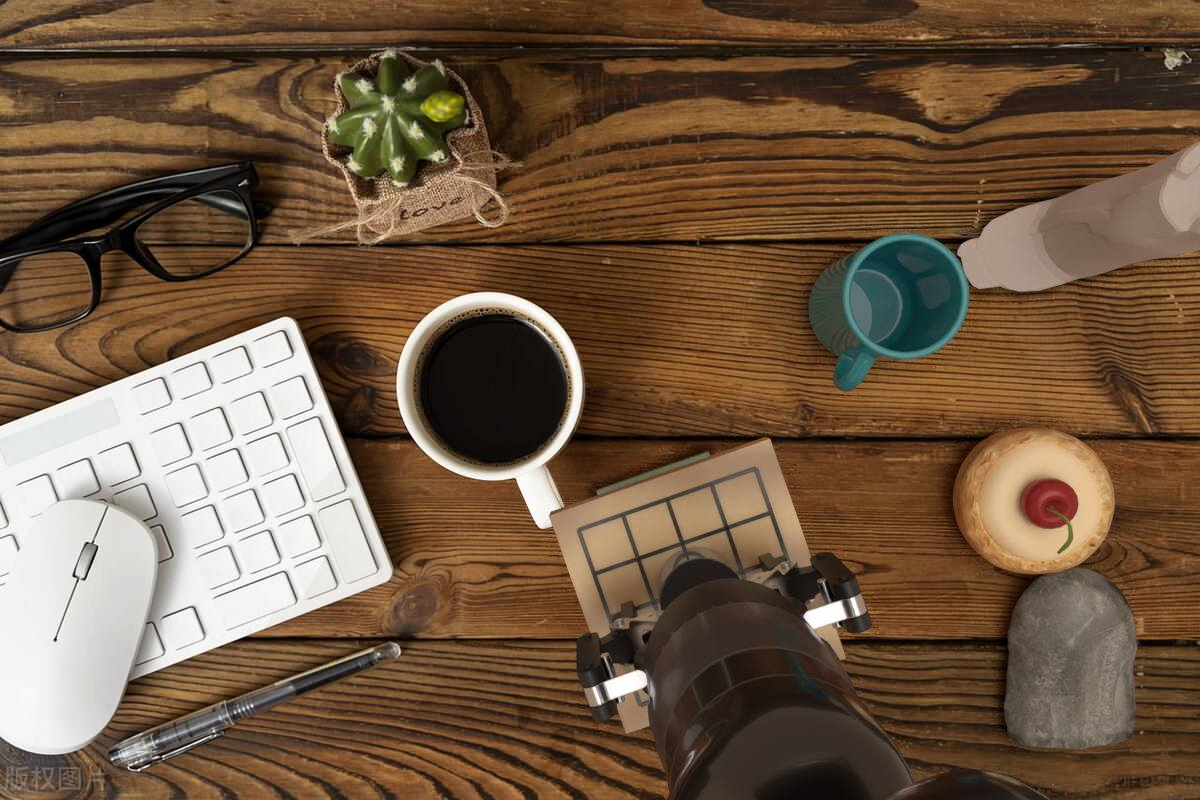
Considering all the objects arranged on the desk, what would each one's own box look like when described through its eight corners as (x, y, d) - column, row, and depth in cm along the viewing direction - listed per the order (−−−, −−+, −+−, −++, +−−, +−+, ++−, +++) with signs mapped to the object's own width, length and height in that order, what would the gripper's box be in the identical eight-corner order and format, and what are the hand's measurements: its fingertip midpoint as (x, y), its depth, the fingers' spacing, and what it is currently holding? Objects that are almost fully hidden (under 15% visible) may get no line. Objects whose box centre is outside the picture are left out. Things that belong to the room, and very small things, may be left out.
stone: (1002, 559, 72) (990, 723, 75) (1019, 577, 68) (1006, 749, 71) (1140, 563, 71) (1123, 730, 73) (1166, 582, 67) (1147, 757, 69)
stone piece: (748, 611, 51) (757, 626, 48) (672, 637, 51) (676, 654, 48) (721, 535, 51) (729, 545, 48) (645, 562, 51) (648, 573, 48)
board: (776, 575, 73) (847, 659, 51) (620, 629, 73) (626, 735, 51) (722, 420, 72) (770, 438, 51) (566, 474, 73) (548, 515, 51)
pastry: (1062, 408, 72) (1126, 412, 63) (1098, 542, 72) (1167, 565, 63) (924, 446, 72) (968, 456, 63) (960, 580, 73) (1010, 608, 64)
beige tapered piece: (949, 228, 72) (1081, 170, 52) (1109, 181, 72) (1304, 105, 52) (972, 310, 72) (1113, 284, 52) (1132, 264, 72) (1335, 220, 52)
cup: (773, 366, 72) (804, 364, 61) (834, 237, 72) (876, 211, 61) (870, 411, 72) (918, 418, 61) (931, 282, 72) (991, 264, 61)
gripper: (604, 849, 33) (605, 694, 50) (952, 730, 33) (838, 614, 49) (541, 668, 33) (563, 573, 50) (889, 548, 33) (796, 492, 49)
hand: (700, 594), depth 49 cm, fingers open, 8 cm apart
